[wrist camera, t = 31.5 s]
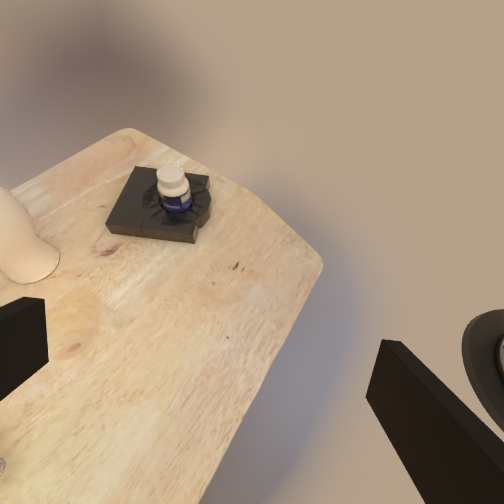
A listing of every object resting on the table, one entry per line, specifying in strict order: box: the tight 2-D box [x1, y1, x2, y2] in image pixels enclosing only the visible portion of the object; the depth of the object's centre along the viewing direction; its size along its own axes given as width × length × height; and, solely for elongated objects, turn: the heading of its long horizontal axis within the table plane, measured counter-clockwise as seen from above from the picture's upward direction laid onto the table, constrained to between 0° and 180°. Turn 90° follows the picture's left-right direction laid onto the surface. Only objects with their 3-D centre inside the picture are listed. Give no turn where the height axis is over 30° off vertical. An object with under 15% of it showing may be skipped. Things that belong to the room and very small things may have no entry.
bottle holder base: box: [105, 166, 212, 244], centre depth 50 cm, size 18×16×3 cm
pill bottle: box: [157, 164, 193, 213], centre depth 47 cm, size 6×6×10 cm
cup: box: [0, 186, 59, 284], centre depth 35 cm, size 11×11×15 cm
